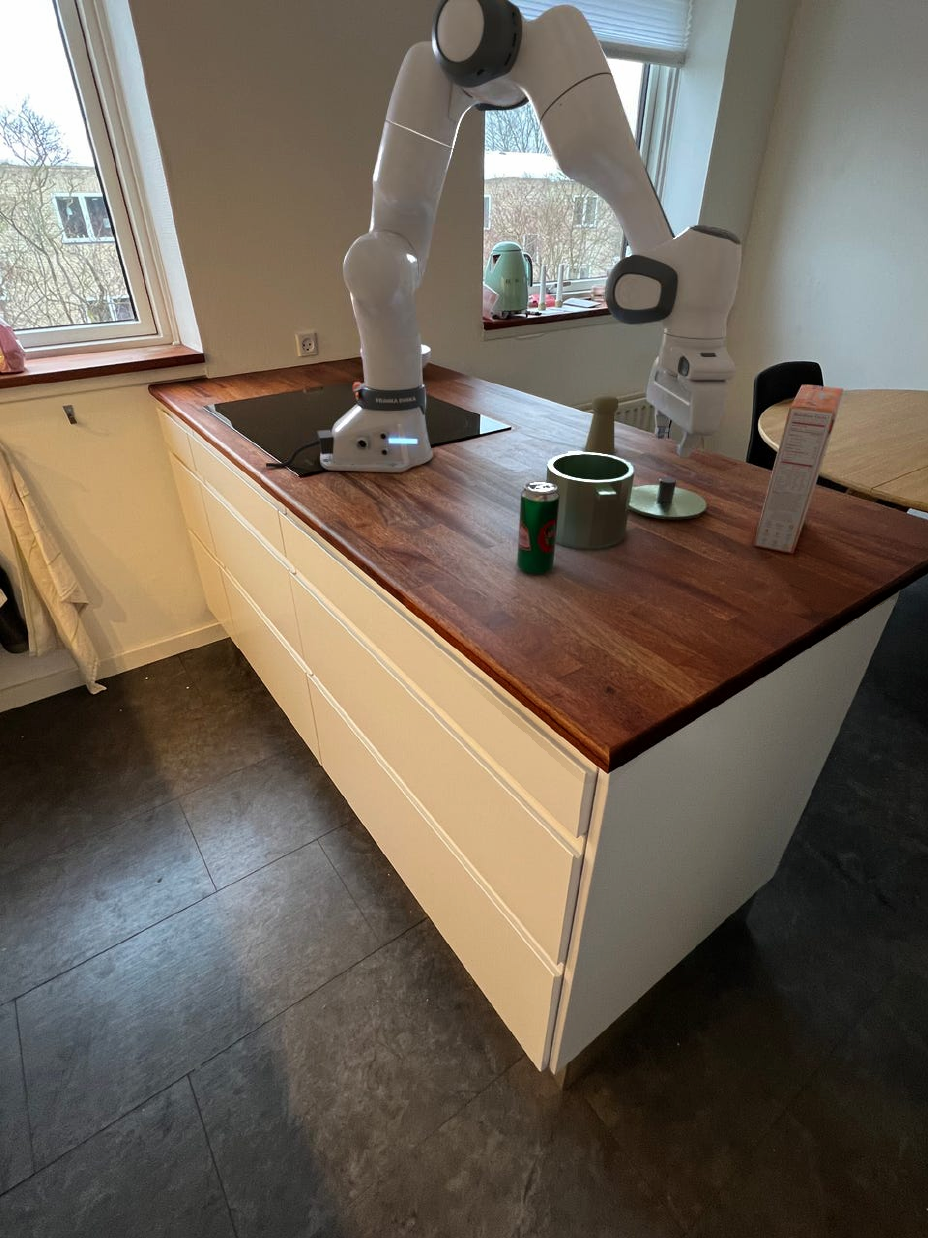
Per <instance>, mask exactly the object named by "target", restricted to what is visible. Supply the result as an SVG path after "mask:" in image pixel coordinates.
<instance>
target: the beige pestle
mask: <svg viewBox="0 0 928 1238" xmlns="http://www.w3.org/2000/svg"><path fill="white" fill-rule="evenodd" d="M591 409H592V411H593V414H592V418H591V422H590V427H589V431H588V434H587V439H586V443H585V447H584V450H585V452H588V453H600V454H606V455H611V454H613V453H614V452H615V414H616V412H617V411H618V409H619V399H618V398H617V397H616V396H614V395H612V394H604V393H603V394H598V395H596V396H594V398H593V399H592V402H591Z"/></svg>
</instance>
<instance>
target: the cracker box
mask: <svg viewBox="0 0 928 1238" xmlns="http://www.w3.org/2000/svg"><path fill="white" fill-rule="evenodd" d="M843 392H844V388H839V387H832V386H831V387H829V386H823V385H817V384H801V386H800V388H799V390H798V392H797V393H796V395H795V398H794V399H793V401H792V403H791V405H790V406H789V408H788V412H787V417H786V419H785V424H784V427H783V431H782V435H781V438H780V442H779V446H778V449H777V453H776V456H775V461H774V464H773V468H772V472H771V475H770V479H769V483H768V487H767V490H766V495H765V499H764V502H763V507H762V511H761V514H760V518H759V521H758V526H757V529H756V532H755V537H754V541H753V544H752V545H753V546H754V547H756V548H762V549H767V550H771V551H772V550H773V551H776V552H781V553H784V554H785V553H786V554H791V555H793V554H794V552H795V549H796V546H797V543H798V540H799V537H800V534H801V531H802V528H803V526H804V523H805V520H806V516H807V513H808V510H809V506H810V505H811V504H810V503H811V500H812V497H813V494H814V491H815V488H816V484H817V482H818V478H819V475H820V472H821V468H822V465H823V462H824V460H825V459H824V458H825V457H826V456H825V455H826V452H827V449H828V445H829V442H830V439H831V436H832V433H833V429H834V426H835V422H836V419H837V416H838V412H839V408H840V404H841V401H842V396H843Z"/></svg>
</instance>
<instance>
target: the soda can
mask: <svg viewBox="0 0 928 1238" xmlns="http://www.w3.org/2000/svg"><path fill="white" fill-rule="evenodd" d="M557 489H558V488H557V486H556V485H554V484H552V483H549V482H546V481H542V480H541V481H540V480H537V481H530V482H527V483H525V484H524V487H523V490H522V491H521V493H520V503H519V505H520V506H519V525H518V541H517V556H516V557H517V558H516V559H517V560H516V565H517V567H518V569H520V571H522V572H523V573H525V574H528V575H531V576H541V575H546V574H548V573H549V572H550V571H552V569H553V568H554V564H555V553H556V552H555V550H556V543H555V542H556V531H557V520H558V509H559V498H560V495H559V493H558V491H557Z"/></svg>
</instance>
